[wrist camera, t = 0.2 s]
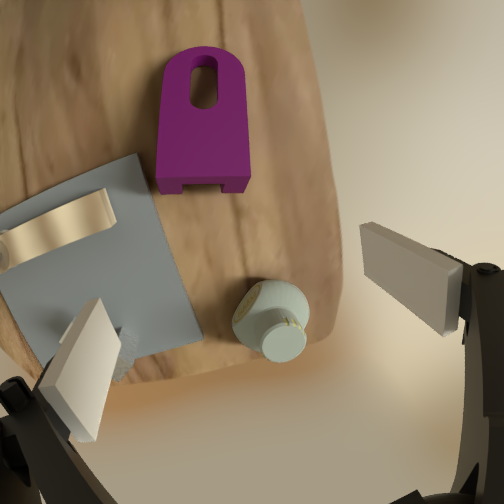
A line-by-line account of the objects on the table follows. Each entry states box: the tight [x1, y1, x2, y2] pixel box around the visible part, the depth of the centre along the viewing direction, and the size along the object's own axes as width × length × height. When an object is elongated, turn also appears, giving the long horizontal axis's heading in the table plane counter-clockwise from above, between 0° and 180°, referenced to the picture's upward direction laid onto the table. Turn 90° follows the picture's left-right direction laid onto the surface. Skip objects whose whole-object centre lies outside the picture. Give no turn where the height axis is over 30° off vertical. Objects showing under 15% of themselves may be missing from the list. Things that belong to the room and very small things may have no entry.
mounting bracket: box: [156, 46, 251, 195], centre depth 36 cm, size 10×8×18 cm
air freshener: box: [232, 280, 309, 363], centre depth 42 cm, size 11×8×10 cm
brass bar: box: [0, 188, 117, 274], centre depth 35 cm, size 20×5×3 cm, turn 105°
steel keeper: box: [59, 317, 139, 382], centre depth 39 cm, size 10×4×6 cm, turn 47°
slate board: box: [0, 153, 204, 368], centre depth 40 cm, size 27×28×2 cm
